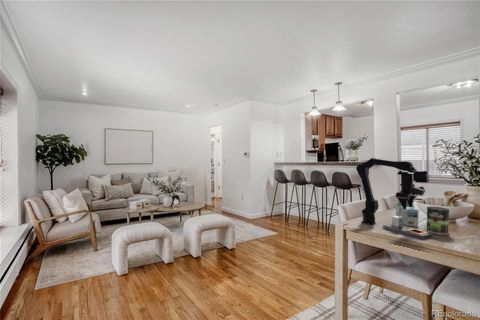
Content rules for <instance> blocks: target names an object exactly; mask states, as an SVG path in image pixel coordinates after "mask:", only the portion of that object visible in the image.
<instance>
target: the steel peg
mask: <svg viewBox="0 0 480 320" xmlns="http://www.w3.org/2000/svg"><path fill="white" fill-rule="evenodd" d="M391 224H392V227H396V228H403V226H404V224H403V217H400V216H396V215H392V216H391Z"/></svg>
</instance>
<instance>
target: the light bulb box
mask: <svg viewBox="0 0 480 320" xmlns="http://www.w3.org/2000/svg"><path fill="white" fill-rule="evenodd" d="M414 208H415V207H414ZM414 208H412V207H406V209H403V207H402V206H400V217H403V225H404V226H406V227H416V228H417V227H419V214H420V213H419V211H420V210H419V209H417V208H415V209H414Z"/></svg>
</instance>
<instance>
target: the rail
mask: <svg viewBox="0 0 480 320" xmlns="http://www.w3.org/2000/svg"><path fill="white" fill-rule="evenodd" d="M382 225H383V226H382V229H384V230H388V231H391V232H394V233H398V234H400V235H404V236H405V235H406V236H409V237H412V238H415V239H418V240H419V239H420V240H423V241H424V240H426V239H432V238H434V233H431V232H428V231H425V230H421V229H417V228H413V227H411V226H407V225H403V228H396V227H392V223H387V224H382Z"/></svg>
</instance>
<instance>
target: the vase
mask: <svg viewBox="0 0 480 320" xmlns="http://www.w3.org/2000/svg"><path fill="white" fill-rule="evenodd" d="M400 206H402V205H401V203H400V202H399V200H398V201H397V204H396V207H395V216H400ZM407 207H409V205H408V202H407ZM412 208H414V209H416V208H415V206H414V204H413V205H412Z"/></svg>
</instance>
